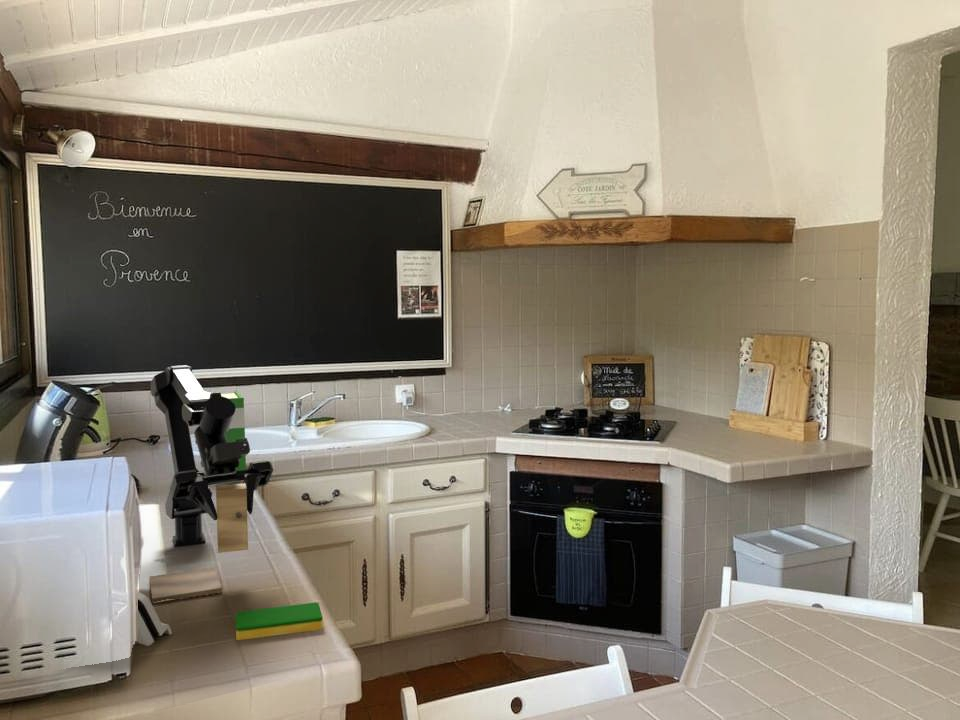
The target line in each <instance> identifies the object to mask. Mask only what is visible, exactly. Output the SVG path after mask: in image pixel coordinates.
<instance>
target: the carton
mask: <svg viewBox="0 0 960 720" xmlns="http://www.w3.org/2000/svg"><path fill="white" fill-rule="evenodd" d="M212 393H218V392H217V391H213V392H212ZM221 396H222V397H225V398H228V399H229V400H231V401H232V402H233V403H234V404H235V408H236V409H235V413H234V416H233V419H232V422H231V425H230V428H229V430H228V432H226V433H225V435H226V439H227V442H228V443H229V442H236V440H238V439H240V438H246V427H245V401H244V400H245V399H244V396H243V395H242V394H241V393H240V392H239V391H238V390H234V393H233V392H232V393H221ZM246 457H247V455H244V456H242V458H240V459H239V466H238V467H236V471H242V470H247V463H246V462H247V461H246V460H247V459H246Z"/></svg>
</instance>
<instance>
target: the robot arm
mask: <svg viewBox="0 0 960 720" xmlns="http://www.w3.org/2000/svg"><path fill="white" fill-rule="evenodd" d="M149 387H150V388H149V389H150V394H151V396H152V397H153V398H154V402H155V403H154V404H155V406H156V407H157V409H159V410H160V411H161V412H162V413H163V414H164V418H165V423H166V429H167V435H168V436H167V437H168V440H169V441H168V442H169V447H170V454H171V459H172V464H173V470H174V475H173V476H172V477H173V478H172V480H171V484H170V485H169V491H168V494H167V498H166V501H165V504H164V507H165V508H164V509H165V514H166V516H167V517H168V518H169V519H170V520H174V533H175V535H173V536H172V541H173V545H174V546H175V547H178V546H179V547H180V546H186V545H194V544H203V543H206V540H207V539H206V537H205V534H204V532H203V521H202V520H203V517H202V514H208V515H209V517H210V518H211V519H212V520H214V521H217V508H216V506H215V504H214V502H213V501H214V500H213V492H212V491H211V489H210V487H209V486H217V485H221V484H222V485H224V484H228V483H230V484H231V483H235V482H236V483H237V482H242V483H241V484H244V483H246V491H247V514H249V515H252V514H253V509H254V508H253V506H254V495H255V494H254V491H256V490H257V489H258V487H264V486H267V485H268V484H269V481H270V479H271V477H272V474H273V472H274V467H273V465H272V462H270V461H269V460H267V459H266V460H258V461H251V462H249V466H248V467H247V469H246V470H242V471H236V467H238V466H239V459H240V458H242V456H244V455H246V456H248V455H249V454H250V452H251V449H250V447H251V446H250V443H249V441H248V438H247V437H245V438H240V439H238V440H236V442H229V443H228V442H227V439H226V435H225V433H226V432H228V430H229V428H230V425H231V422H232V419H233V416H234V413H235V409H236V408H235V404H234V403H233V402H232V401H231V400H229V399H228V398H225V397H222V396H221V394H222V393H221V392H217V393H213V392H209V391H206V390H204V389H203V387H202V385H201V384H200V382H199V381H198V379H197V378H196V377H195V376H194V374H193V370H192V366H190V365H188V364H187V365H186V364H184V365H182V364H181V365H170V366H169V367H166V368H165V370H163V371H162V372H160V373H157V374H156V375H154V376H153V378H152V380H151V381H150V386H149ZM190 427H196V428H195V430H194V433H193V435H194V438H195V440H194V441H195V444H196V445H197V450H198V453H199V457H200V460H201V461H200V466H201V467H200V468H203V470H204V471H202V472H201V471H199V470H198V468H197V467H196V460H195V456H194V450H193V445H192V440H191V439H192V438H191V433H190Z"/></svg>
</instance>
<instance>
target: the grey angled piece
mask: <svg viewBox="0 0 960 720" xmlns="http://www.w3.org/2000/svg"><path fill="white" fill-rule="evenodd" d="M163 634H167V635H171V634H173V632H172V629H171V626H170V624H167V623H164V622H161V620H160V618H159V616H158V614H157V612H156V610H155V608H154V606H153V604H152V601H151V600H150V598H148V596H146V595H145V594H143V593H142V592H140V591H138V643H137V644H139V645H140V644H141V645H144V646H147V647H148V646H151V645H153V644H154V643H155V640H154V639H155V637H158V636H159V637H161V636H163Z"/></svg>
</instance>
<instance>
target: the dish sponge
mask: <svg viewBox="0 0 960 720" xmlns="http://www.w3.org/2000/svg"><path fill="white" fill-rule="evenodd" d="M323 618H324V617H323V614H322V610H321V607H320V604H319V602H317V601H315V602H309V603H299V604H292V605H283V606H275V607H266V608H258V609H257V608H256V609H251V610H242V611H241V610H240V611H236V612H235V640H237V641H242V640H250V639H257V638H266V637H272V636H279V635H288V634H296V633H302V632H303V633H304V632H309V631H310V632H311V631H317V630H322V629H323V627H324V625H323V623H324V622H323Z"/></svg>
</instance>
